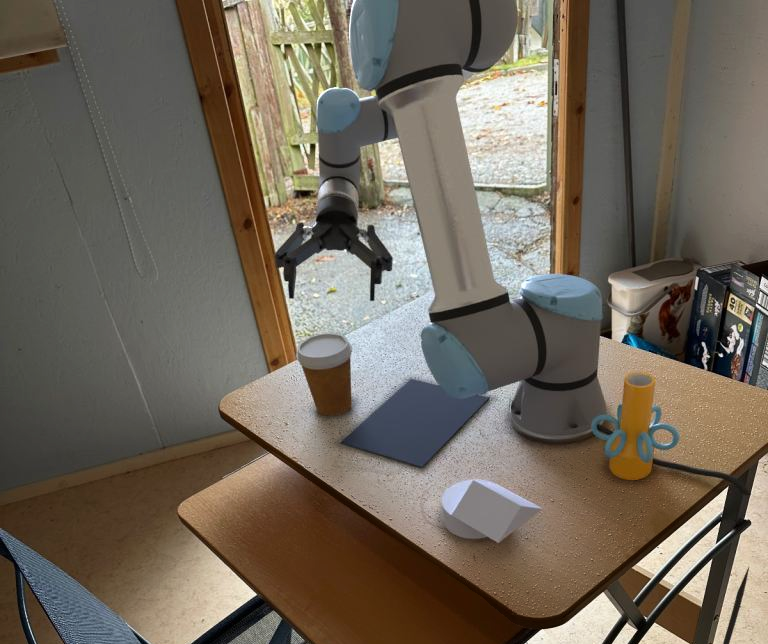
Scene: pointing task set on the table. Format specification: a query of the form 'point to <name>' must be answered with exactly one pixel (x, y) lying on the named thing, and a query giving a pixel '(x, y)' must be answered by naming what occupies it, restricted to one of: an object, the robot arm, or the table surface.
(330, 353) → the disposable coffee cup
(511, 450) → the table surface
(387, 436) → the mat
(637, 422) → the yellow tube with rings
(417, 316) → the table surface
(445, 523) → the wedge on round base
